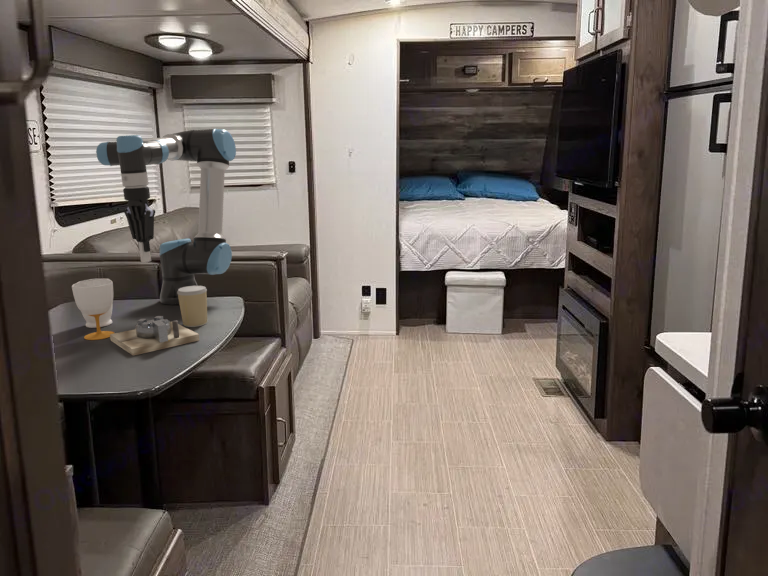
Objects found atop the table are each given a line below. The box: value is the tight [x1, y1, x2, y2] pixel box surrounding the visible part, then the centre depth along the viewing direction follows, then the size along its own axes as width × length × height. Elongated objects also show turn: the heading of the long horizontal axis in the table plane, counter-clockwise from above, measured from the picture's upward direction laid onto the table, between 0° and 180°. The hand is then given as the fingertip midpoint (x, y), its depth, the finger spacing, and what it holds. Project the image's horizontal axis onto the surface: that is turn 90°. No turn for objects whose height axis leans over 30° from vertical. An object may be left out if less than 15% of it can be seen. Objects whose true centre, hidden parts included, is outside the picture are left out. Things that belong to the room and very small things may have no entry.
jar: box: [76, 277, 114, 329], centre depth 217 cm, size 11×10×15 cm
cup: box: [71, 279, 115, 341], centre depth 204 cm, size 12×12×17 cm
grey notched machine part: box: [135, 315, 171, 343], centre depth 195 cm, size 16×10×5 cm, turn 34°
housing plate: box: [109, 320, 200, 357], centre depth 198 cm, size 20×20×7 cm
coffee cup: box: [177, 285, 208, 328], centre depth 215 cm, size 9×9×12 cm
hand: (146, 261), depth 206 cm, fingers closed
